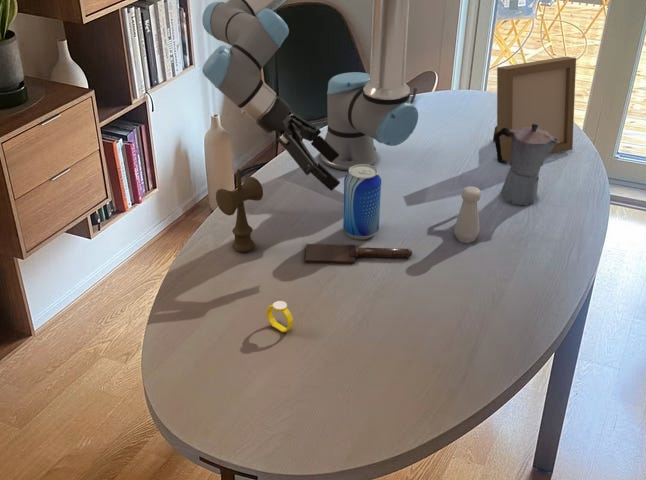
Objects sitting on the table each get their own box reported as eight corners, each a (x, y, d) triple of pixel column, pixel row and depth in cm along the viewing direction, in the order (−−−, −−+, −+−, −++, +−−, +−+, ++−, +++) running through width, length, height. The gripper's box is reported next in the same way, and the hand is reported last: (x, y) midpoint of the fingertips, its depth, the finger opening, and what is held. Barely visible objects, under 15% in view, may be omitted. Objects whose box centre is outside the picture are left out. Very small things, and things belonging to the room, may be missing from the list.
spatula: (411, 248, 188) (411, 241, 187) (412, 265, 183) (413, 257, 182) (306, 246, 189) (306, 239, 187) (305, 262, 183) (305, 255, 182)
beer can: (359, 245, 189) (362, 183, 180) (335, 230, 194) (336, 169, 185) (385, 232, 194) (389, 171, 184) (361, 218, 199) (364, 158, 189)
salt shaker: (463, 229, 195) (470, 180, 188) (483, 238, 192) (490, 189, 184) (448, 238, 192) (453, 188, 184) (467, 247, 189) (474, 198, 181)
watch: (264, 325, 165) (263, 301, 161) (273, 319, 166) (272, 295, 163) (286, 337, 162) (285, 313, 158) (295, 331, 163) (295, 307, 160)
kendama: (218, 251, 186) (211, 172, 174) (249, 235, 192) (245, 157, 180) (236, 261, 183) (230, 181, 171) (267, 244, 189) (264, 165, 177)
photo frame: (571, 152, 229) (589, 65, 214) (505, 166, 222) (518, 76, 207) (540, 131, 240) (555, 46, 225) (476, 144, 233) (487, 57, 218)
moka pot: (547, 210, 203) (562, 135, 191) (485, 203, 206) (495, 129, 193) (547, 191, 211) (561, 118, 199) (487, 185, 213) (497, 112, 201)
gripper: (258, 97, 187) (323, 157, 196) (249, 145, 167) (323, 210, 176) (280, 74, 184) (346, 137, 193) (274, 121, 164) (348, 188, 173)
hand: (335, 172), depth 185 cm, fingers open, 13 cm apart
